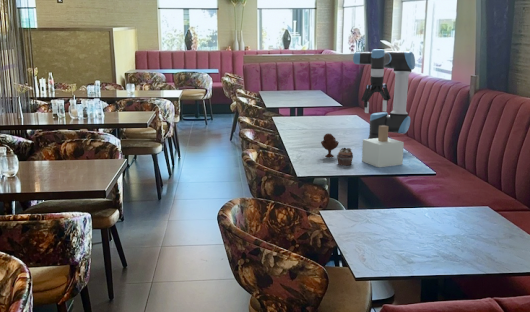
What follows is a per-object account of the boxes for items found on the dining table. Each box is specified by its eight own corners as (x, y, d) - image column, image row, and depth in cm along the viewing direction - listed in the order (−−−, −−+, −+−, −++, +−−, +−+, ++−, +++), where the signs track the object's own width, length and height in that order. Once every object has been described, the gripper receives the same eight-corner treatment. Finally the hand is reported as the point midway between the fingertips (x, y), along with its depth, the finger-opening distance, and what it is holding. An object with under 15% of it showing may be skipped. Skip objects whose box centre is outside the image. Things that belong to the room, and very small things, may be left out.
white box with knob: (385, 158, 340) (386, 122, 335) (402, 164, 325) (404, 127, 320) (361, 161, 334) (363, 124, 329) (378, 167, 318) (380, 129, 313)
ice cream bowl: (337, 158, 340) (338, 135, 337) (319, 158, 342) (320, 134, 339) (338, 155, 350) (339, 132, 347) (321, 154, 352) (322, 131, 349)
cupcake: (354, 162, 330) (354, 146, 328) (351, 166, 321) (351, 149, 319) (338, 161, 333) (338, 145, 331) (335, 165, 324) (335, 148, 322)
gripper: (389, 74, 329) (387, 109, 334) (356, 76, 317) (354, 112, 322) (397, 75, 322) (395, 111, 327) (364, 77, 311) (362, 114, 315)
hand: (375, 112), depth 325 cm, fingers open, 13 cm apart
